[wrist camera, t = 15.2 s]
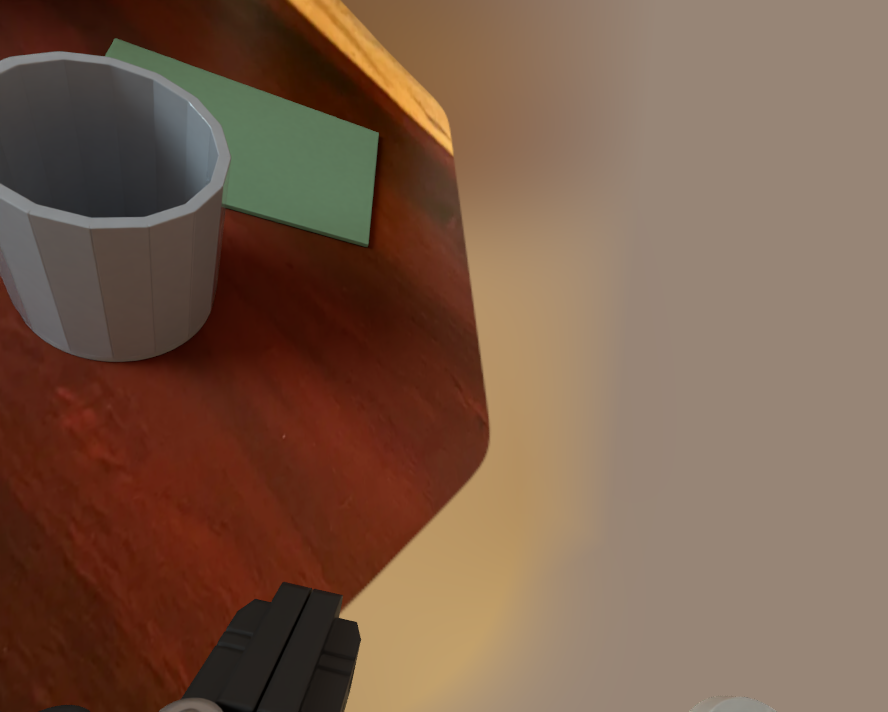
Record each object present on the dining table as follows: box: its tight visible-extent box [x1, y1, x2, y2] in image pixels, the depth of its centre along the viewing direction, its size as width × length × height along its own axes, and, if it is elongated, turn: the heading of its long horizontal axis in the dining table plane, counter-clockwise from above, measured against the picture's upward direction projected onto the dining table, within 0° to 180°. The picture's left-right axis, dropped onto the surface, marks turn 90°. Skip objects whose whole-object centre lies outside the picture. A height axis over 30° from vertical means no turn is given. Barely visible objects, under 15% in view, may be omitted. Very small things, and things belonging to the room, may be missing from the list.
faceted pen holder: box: [0, 51, 231, 362], centre depth 29 cm, size 11×11×12 cm
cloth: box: [105, 38, 379, 247], centre depth 43 cm, size 22×14×1 cm, turn 90°
